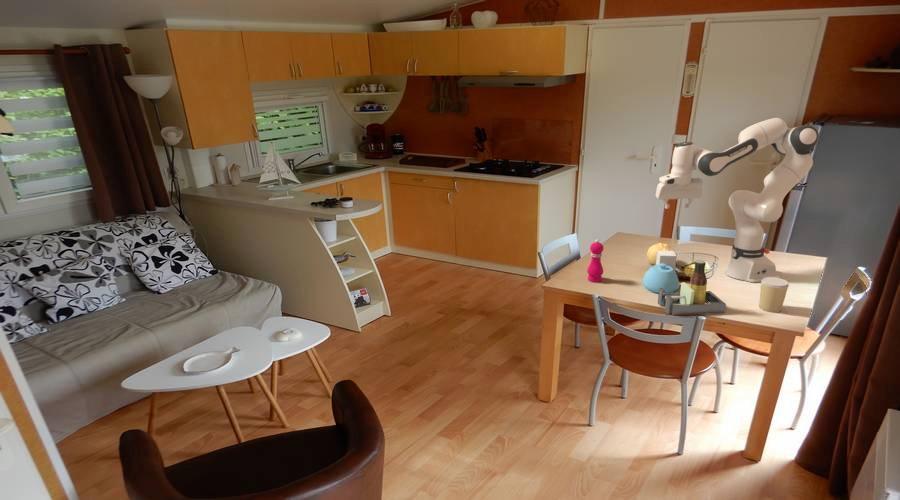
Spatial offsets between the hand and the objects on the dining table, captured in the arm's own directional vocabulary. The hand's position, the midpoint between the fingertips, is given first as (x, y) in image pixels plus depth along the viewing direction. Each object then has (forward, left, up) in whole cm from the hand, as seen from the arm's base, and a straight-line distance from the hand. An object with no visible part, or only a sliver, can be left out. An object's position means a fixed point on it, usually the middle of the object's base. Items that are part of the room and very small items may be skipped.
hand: (677, 207), depth 239 cm
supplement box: (+7, +10, -31) cm, 34 cm away
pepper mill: (+39, +8, -31) cm, 51 cm away
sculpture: (+2, -8, -31) cm, 32 cm away
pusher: (+15, +40, -31) cm, 53 cm away
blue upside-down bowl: (+13, +20, -31) cm, 40 cm away
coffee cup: (-22, +44, -31) cm, 58 cm away
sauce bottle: (+6, +39, -31) cm, 51 cm away
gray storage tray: (+9, +40, -31) cm, 51 cm away
